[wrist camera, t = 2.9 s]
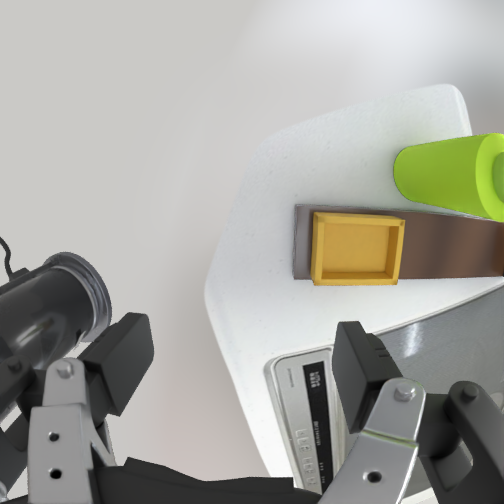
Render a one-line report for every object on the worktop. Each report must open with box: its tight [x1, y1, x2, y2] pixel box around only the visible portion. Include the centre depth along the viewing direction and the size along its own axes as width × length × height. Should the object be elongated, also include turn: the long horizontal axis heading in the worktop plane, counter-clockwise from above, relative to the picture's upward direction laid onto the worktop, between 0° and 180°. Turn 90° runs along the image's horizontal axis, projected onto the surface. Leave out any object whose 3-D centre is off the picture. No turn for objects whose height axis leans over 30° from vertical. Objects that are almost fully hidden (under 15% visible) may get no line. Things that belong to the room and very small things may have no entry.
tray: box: [310, 212, 405, 285], centre depth 24 cm, size 8×6×3 cm
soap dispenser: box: [394, 133, 504, 222], centre depth 15 cm, size 6×7×20 cm
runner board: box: [293, 205, 504, 280], centre depth 26 cm, size 31×7×1 cm, turn 90°
